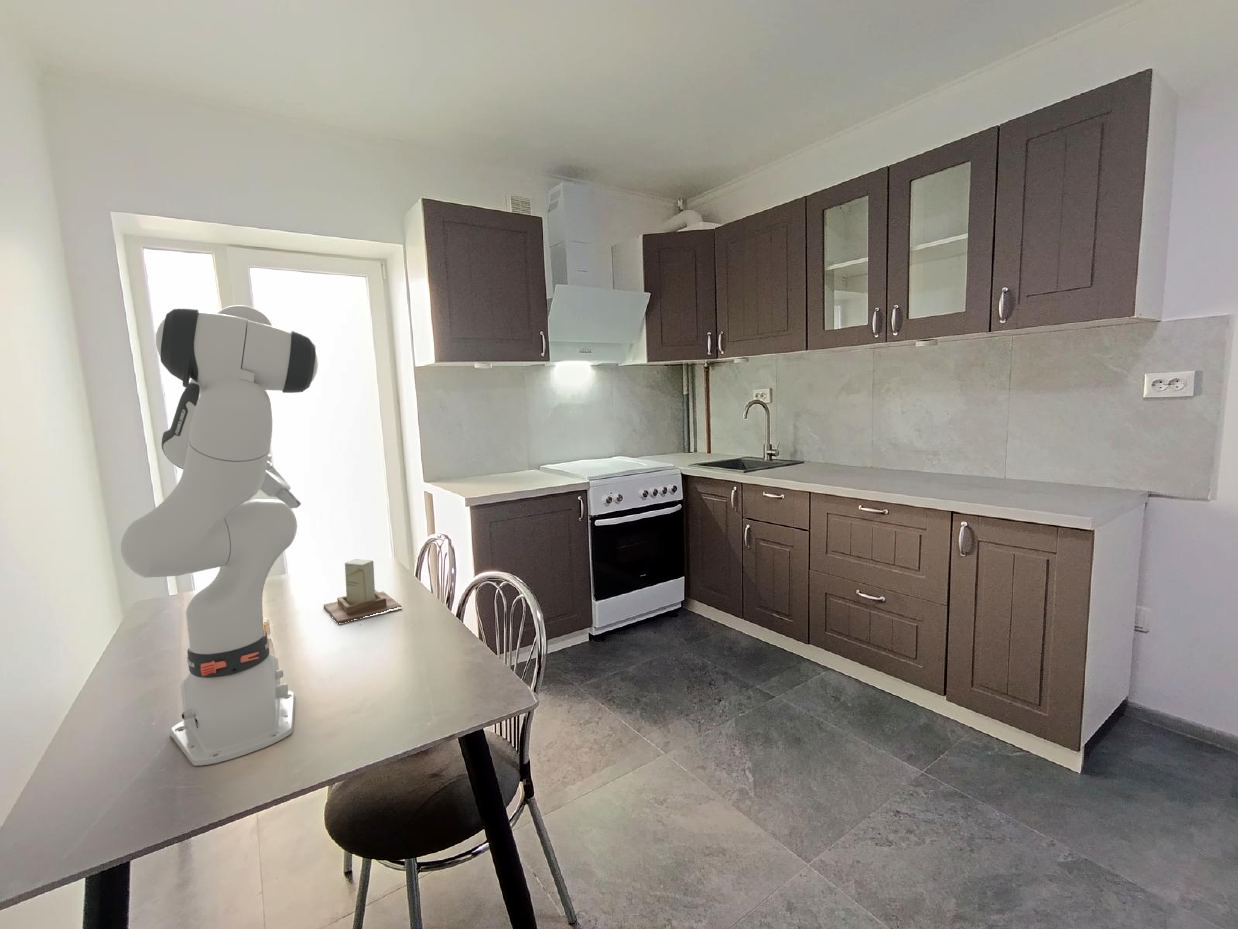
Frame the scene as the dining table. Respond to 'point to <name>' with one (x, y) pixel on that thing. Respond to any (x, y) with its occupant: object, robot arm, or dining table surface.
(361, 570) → the skincare box
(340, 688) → the dining table surface
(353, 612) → the brown box holder base
